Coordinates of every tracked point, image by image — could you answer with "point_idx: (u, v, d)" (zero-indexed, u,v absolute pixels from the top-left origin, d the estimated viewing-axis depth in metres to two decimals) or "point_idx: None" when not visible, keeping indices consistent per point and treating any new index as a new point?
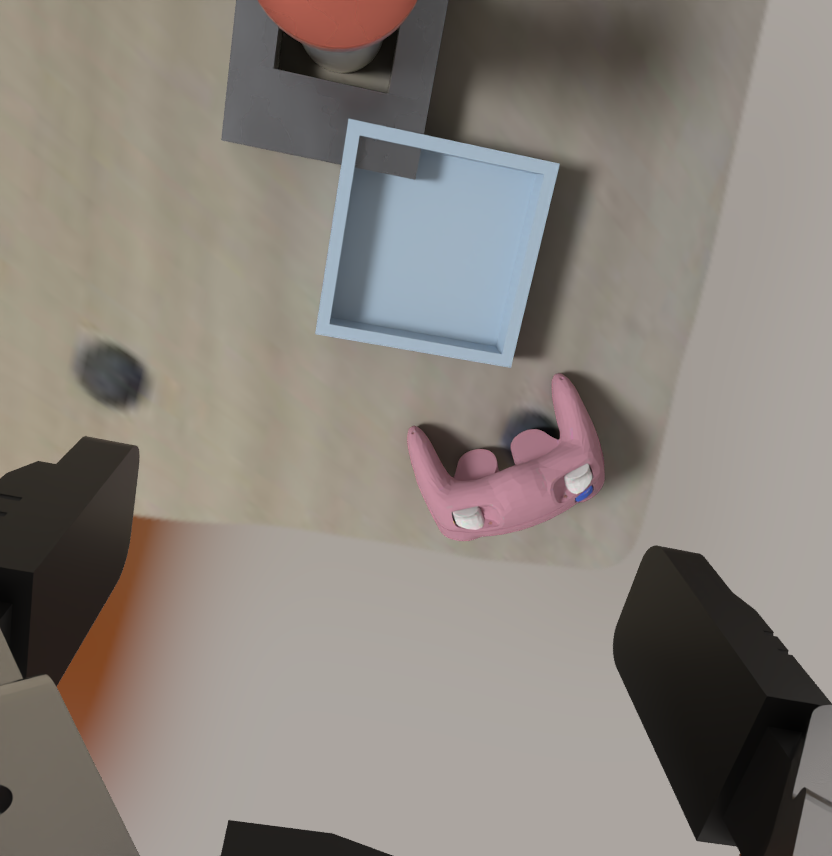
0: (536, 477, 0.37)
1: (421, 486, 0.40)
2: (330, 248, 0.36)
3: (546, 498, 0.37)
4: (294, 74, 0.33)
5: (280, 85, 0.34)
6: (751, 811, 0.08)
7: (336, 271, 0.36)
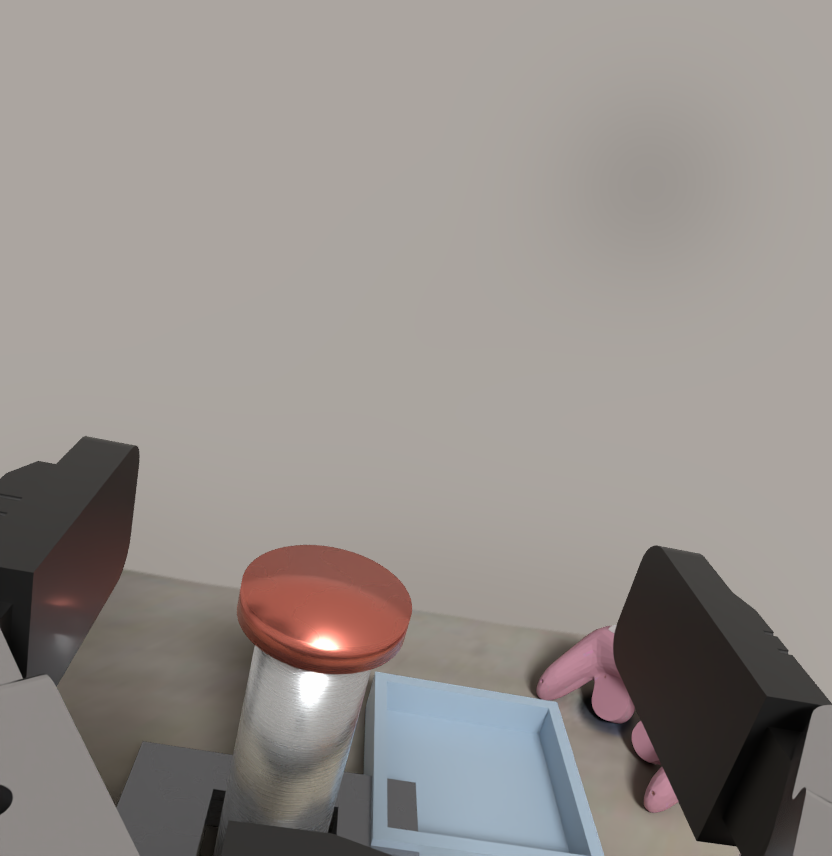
0: None
1: None
2: None
3: None
4: None
5: None
6: (752, 812, 0.08)
7: (533, 849, 0.31)
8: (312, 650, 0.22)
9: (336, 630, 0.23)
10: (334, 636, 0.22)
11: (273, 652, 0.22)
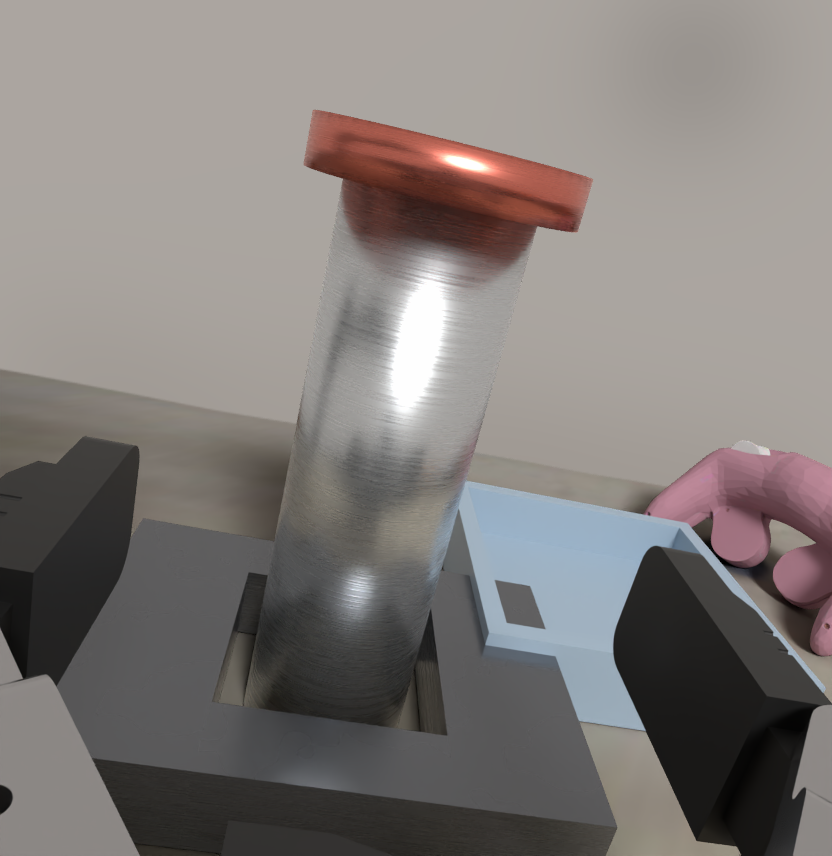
0: (784, 465, 0.32)
1: None
2: None
3: (798, 454, 0.32)
4: (445, 706, 0.18)
5: (472, 726, 0.17)
6: (752, 811, 0.08)
7: None
8: (453, 158, 0.12)
9: None
10: None
11: (379, 177, 0.13)
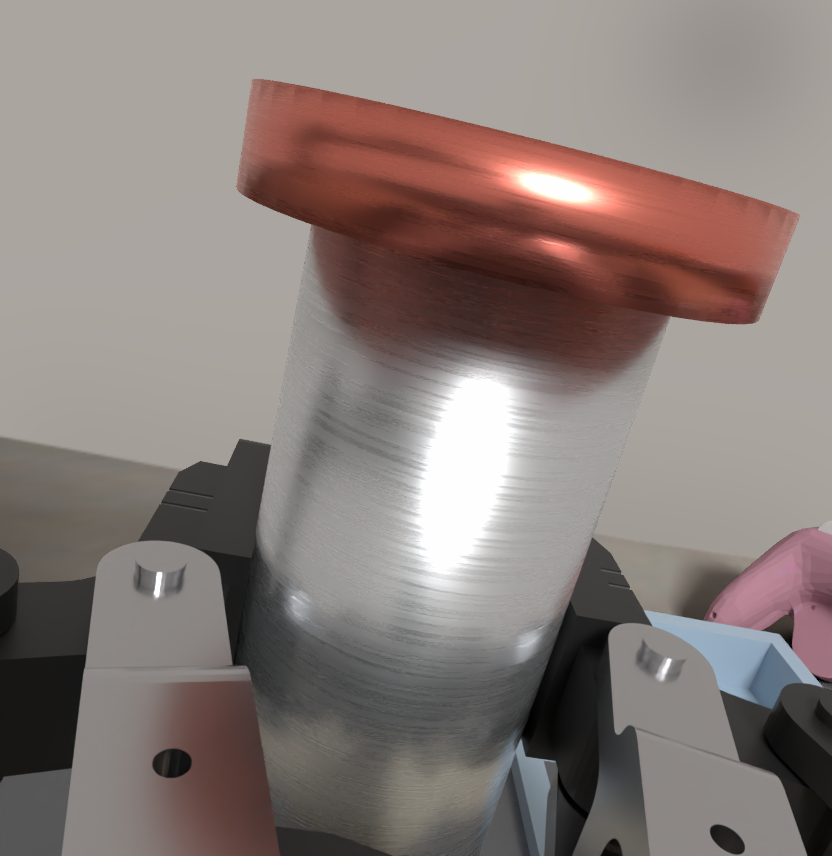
0: None
1: None
2: None
3: None
4: None
5: None
6: (565, 724, 0.09)
7: None
8: (549, 183, 0.05)
9: None
10: None
11: (381, 223, 0.06)
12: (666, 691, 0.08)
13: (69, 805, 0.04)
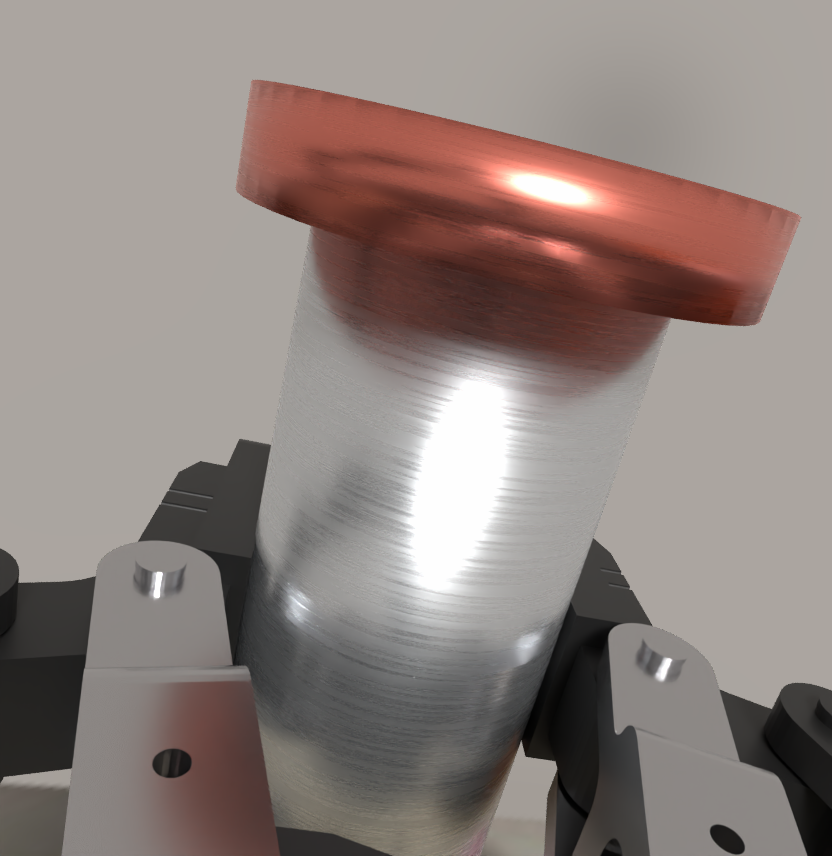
0: None
1: None
2: None
3: None
4: None
5: None
6: (565, 723, 0.09)
7: None
8: (550, 184, 0.05)
9: None
10: None
11: (381, 223, 0.06)
12: (666, 691, 0.08)
13: (68, 805, 0.04)
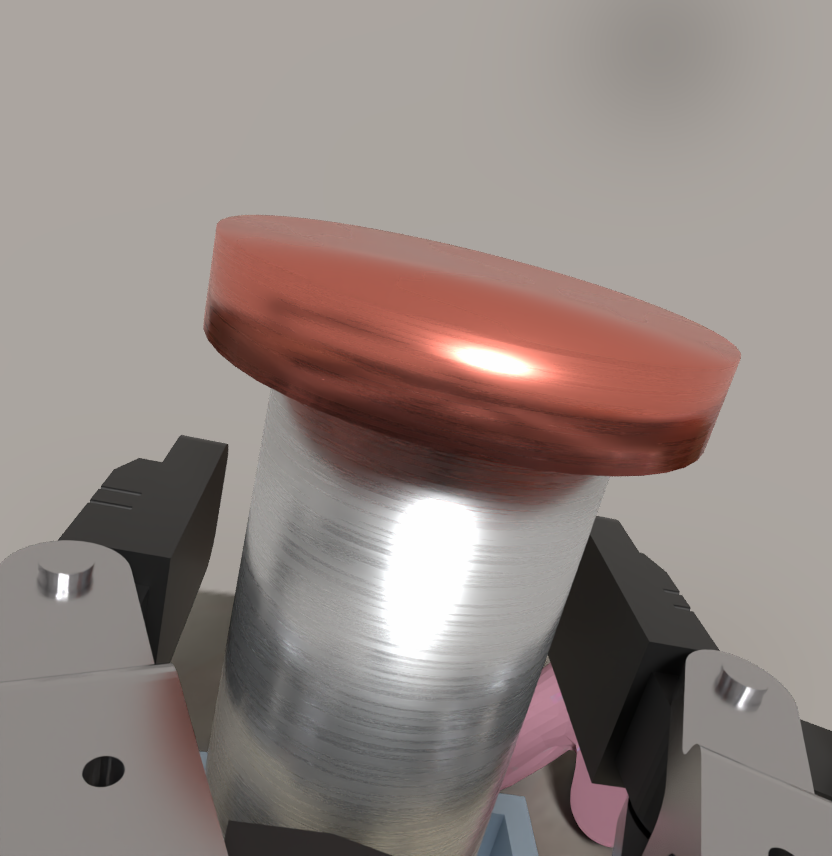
0: None
1: None
2: None
3: None
4: None
5: None
6: (636, 751, 0.09)
7: None
8: (487, 366, 0.06)
9: (551, 327, 0.06)
10: (554, 335, 0.06)
11: (331, 394, 0.06)
12: (751, 723, 0.08)
13: None
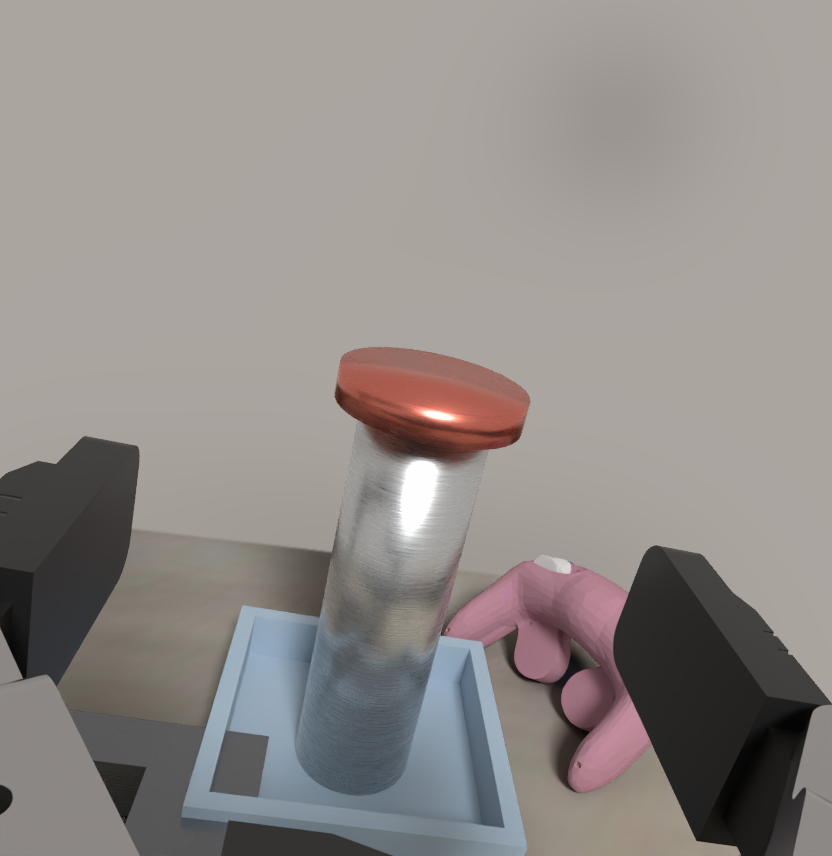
0: (570, 586, 0.32)
1: None
2: (387, 828, 0.22)
3: (588, 573, 0.32)
4: None
5: None
6: (751, 811, 0.08)
7: (420, 819, 0.22)
8: (432, 418, 0.19)
9: (455, 402, 0.20)
10: (455, 406, 0.20)
11: (386, 426, 0.20)
12: None
13: None
